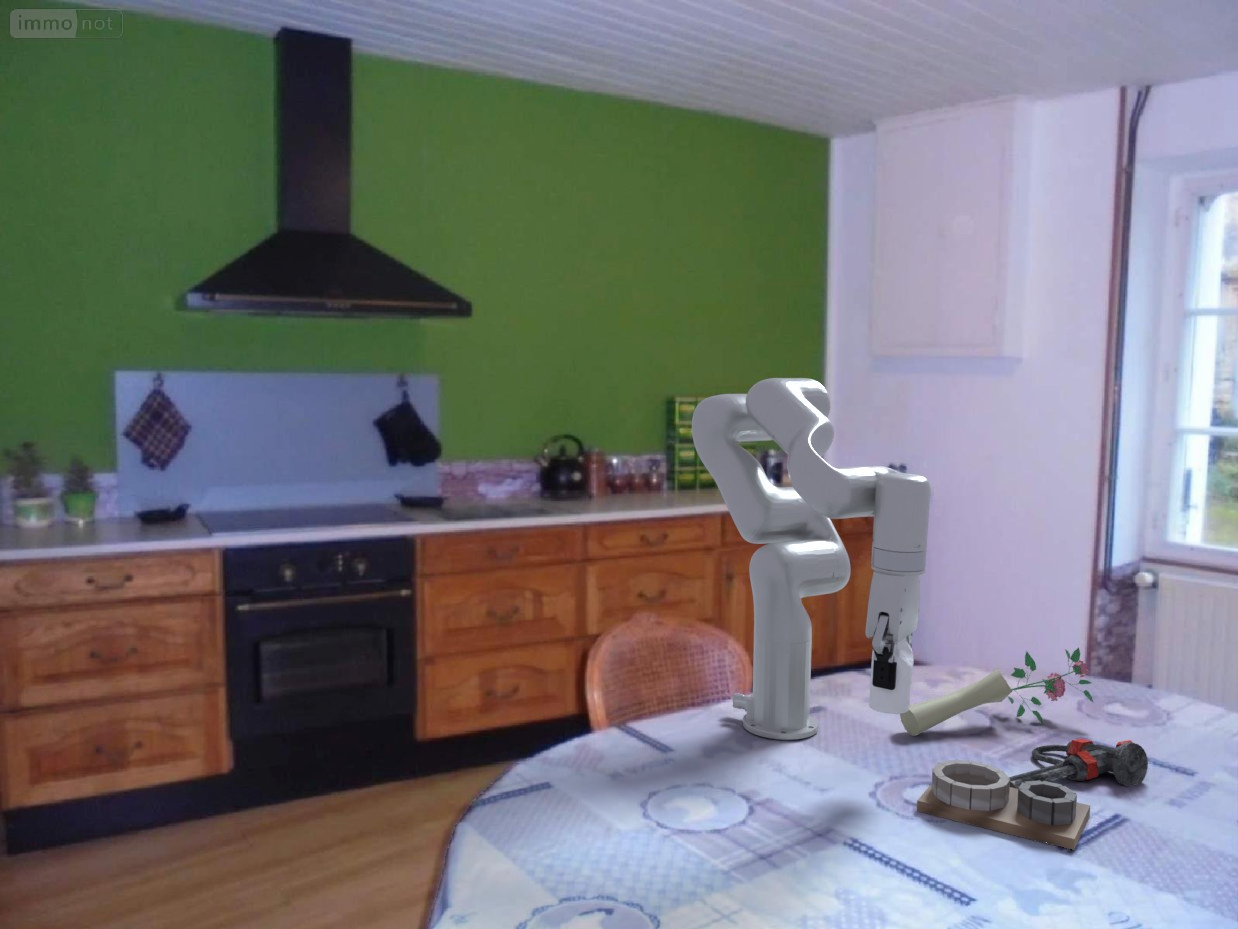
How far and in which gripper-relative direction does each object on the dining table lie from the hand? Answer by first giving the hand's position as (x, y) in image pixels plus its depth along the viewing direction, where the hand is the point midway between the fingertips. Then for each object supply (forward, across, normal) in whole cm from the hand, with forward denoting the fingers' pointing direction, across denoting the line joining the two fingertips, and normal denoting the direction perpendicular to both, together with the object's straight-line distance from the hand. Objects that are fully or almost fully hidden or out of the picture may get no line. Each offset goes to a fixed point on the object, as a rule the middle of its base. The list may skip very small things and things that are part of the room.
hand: (891, 680), depth 148 cm
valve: (+16, -18, +21) cm, 32 cm away
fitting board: (+15, +2, +17) cm, 23 cm away
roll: (+4, 0, 0) cm, 4 cm away
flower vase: (+16, -34, +7) cm, 38 cm away
